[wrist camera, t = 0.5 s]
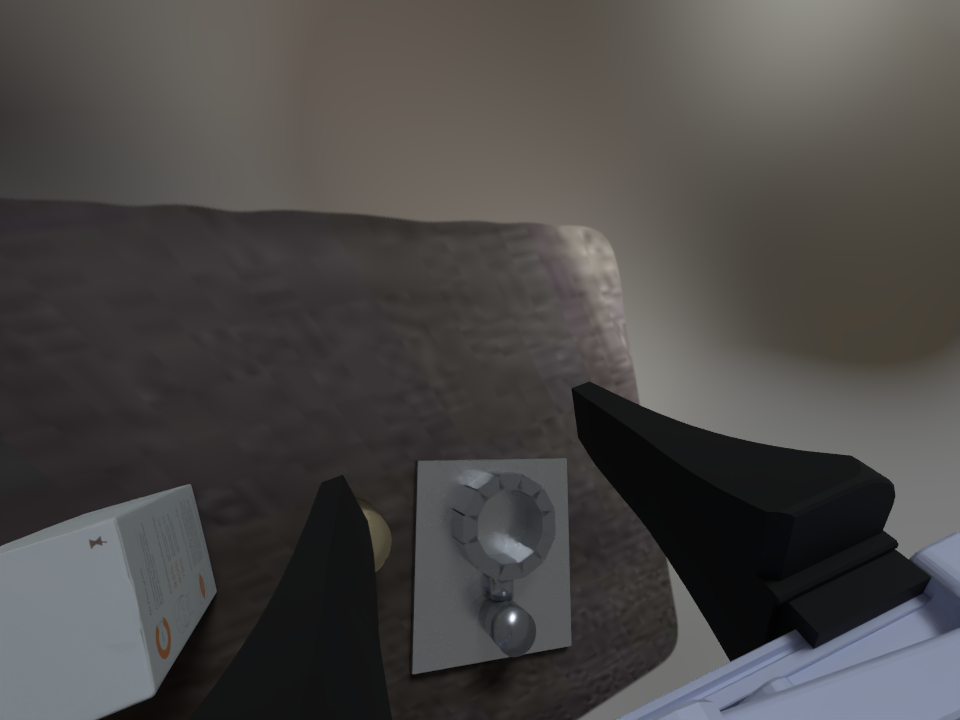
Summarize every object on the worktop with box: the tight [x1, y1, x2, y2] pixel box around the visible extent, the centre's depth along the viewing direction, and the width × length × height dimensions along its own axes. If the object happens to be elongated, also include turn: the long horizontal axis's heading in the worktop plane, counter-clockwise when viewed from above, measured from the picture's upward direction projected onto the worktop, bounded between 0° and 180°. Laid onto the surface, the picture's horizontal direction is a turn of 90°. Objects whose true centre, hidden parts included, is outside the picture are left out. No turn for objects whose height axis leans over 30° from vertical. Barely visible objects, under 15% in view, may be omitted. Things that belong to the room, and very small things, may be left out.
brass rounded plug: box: [356, 498, 391, 572], centre depth 32 cm, size 4×4×6 cm
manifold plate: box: [410, 458, 571, 674], centre depth 36 cm, size 16×14×5 cm
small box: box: [0, 484, 217, 720], centre depth 25 cm, size 8×6×13 cm
